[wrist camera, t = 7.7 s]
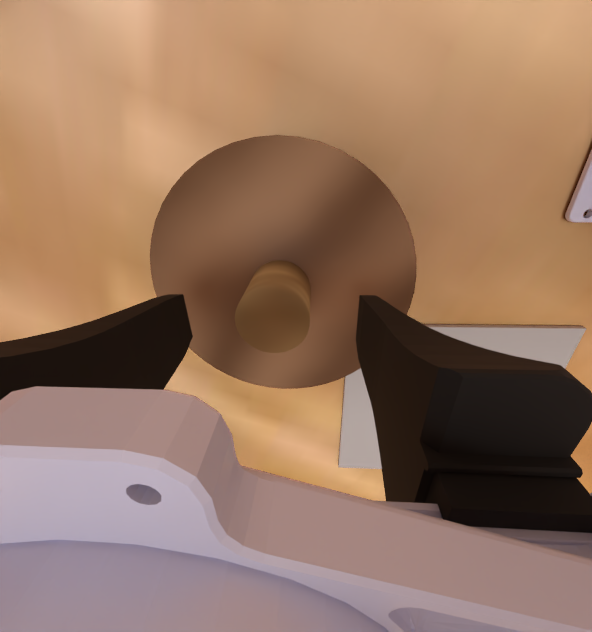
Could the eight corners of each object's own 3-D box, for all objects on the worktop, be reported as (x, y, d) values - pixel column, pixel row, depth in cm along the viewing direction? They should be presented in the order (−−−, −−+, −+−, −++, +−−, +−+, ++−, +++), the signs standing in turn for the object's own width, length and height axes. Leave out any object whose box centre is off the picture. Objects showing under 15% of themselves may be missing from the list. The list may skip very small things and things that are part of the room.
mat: (581, 325, 21) (586, 328, 21) (506, 470, 29) (509, 474, 29) (348, 323, 22) (349, 326, 22) (338, 463, 30) (338, 467, 30)
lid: (471, 240, 14) (528, 269, 11) (320, 409, 20) (322, 467, 17) (214, 62, 12) (164, 13, 8) (129, 318, 18) (78, 362, 14)
